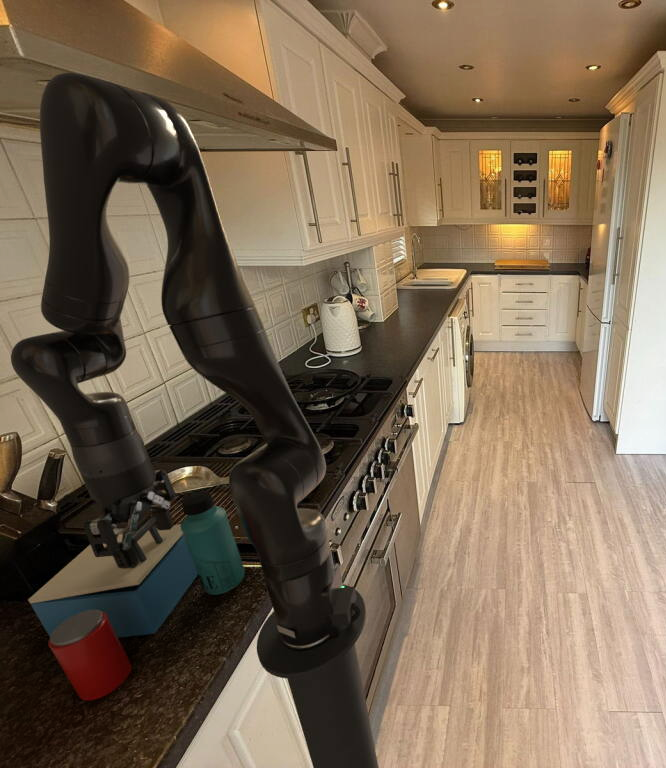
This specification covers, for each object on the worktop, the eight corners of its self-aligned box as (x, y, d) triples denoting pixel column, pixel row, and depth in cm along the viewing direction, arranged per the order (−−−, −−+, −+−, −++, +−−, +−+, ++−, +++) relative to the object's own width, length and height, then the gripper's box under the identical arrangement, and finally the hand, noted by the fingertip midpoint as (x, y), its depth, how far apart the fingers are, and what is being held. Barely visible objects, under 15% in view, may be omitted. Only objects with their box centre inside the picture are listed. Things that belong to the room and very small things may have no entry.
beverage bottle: (254, 570, 77) (227, 482, 70) (238, 600, 71) (207, 507, 64) (216, 575, 76) (185, 486, 69) (197, 605, 70) (161, 511, 63)
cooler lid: (189, 526, 74) (175, 498, 71) (139, 584, 62) (120, 554, 59) (99, 541, 72) (82, 513, 70) (30, 603, 60) (6, 573, 58)
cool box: (201, 570, 77) (188, 534, 74) (155, 633, 65) (137, 593, 62) (116, 578, 76) (99, 541, 72) (53, 644, 64) (30, 604, 60)
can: (141, 658, 62) (115, 605, 58) (112, 697, 57) (82, 642, 53) (99, 663, 61) (71, 609, 57) (67, 703, 56) (33, 648, 52)
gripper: (105, 488, 55) (144, 579, 61) (172, 437, 68) (199, 515, 74) (42, 492, 54) (88, 584, 60) (122, 439, 67) (153, 519, 73)
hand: (149, 546), depth 67 cm, fingers open, 8 cm apart
